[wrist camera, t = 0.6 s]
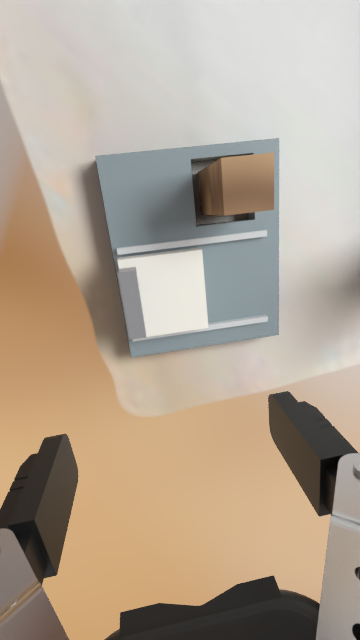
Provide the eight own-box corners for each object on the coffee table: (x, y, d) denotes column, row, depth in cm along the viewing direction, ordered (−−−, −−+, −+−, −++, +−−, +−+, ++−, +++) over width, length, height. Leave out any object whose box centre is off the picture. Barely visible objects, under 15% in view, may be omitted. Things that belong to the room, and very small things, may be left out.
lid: (118, 257, 30) (115, 263, 27) (198, 247, 31) (206, 252, 27) (131, 332, 33) (130, 347, 29) (204, 322, 34) (212, 335, 30)
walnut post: (198, 172, 31) (221, 157, 22) (237, 168, 31) (273, 152, 23) (201, 214, 32) (224, 215, 24) (238, 210, 33) (274, 209, 24)
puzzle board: (98, 159, 29) (94, 154, 27) (270, 142, 31) (282, 136, 28) (131, 349, 36) (131, 359, 34) (271, 328, 38) (280, 336, 35)
